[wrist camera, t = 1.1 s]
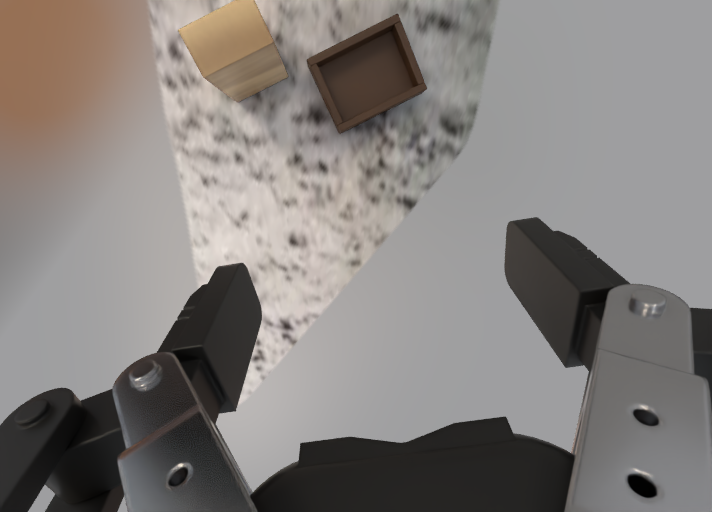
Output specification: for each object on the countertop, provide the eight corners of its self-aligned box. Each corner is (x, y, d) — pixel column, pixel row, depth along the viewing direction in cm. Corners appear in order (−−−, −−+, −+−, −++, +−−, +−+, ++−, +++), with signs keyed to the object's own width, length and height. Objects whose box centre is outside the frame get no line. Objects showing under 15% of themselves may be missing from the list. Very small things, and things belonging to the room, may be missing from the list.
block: (219, 68, 31) (177, 29, 22) (271, 41, 31) (250, -9, 22) (237, 103, 32) (203, 78, 23) (288, 77, 31) (274, 42, 23)
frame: (307, 66, 31) (306, 59, 29) (393, 22, 31) (397, 13, 29) (339, 134, 33) (340, 132, 31) (421, 93, 33) (427, 88, 31)
